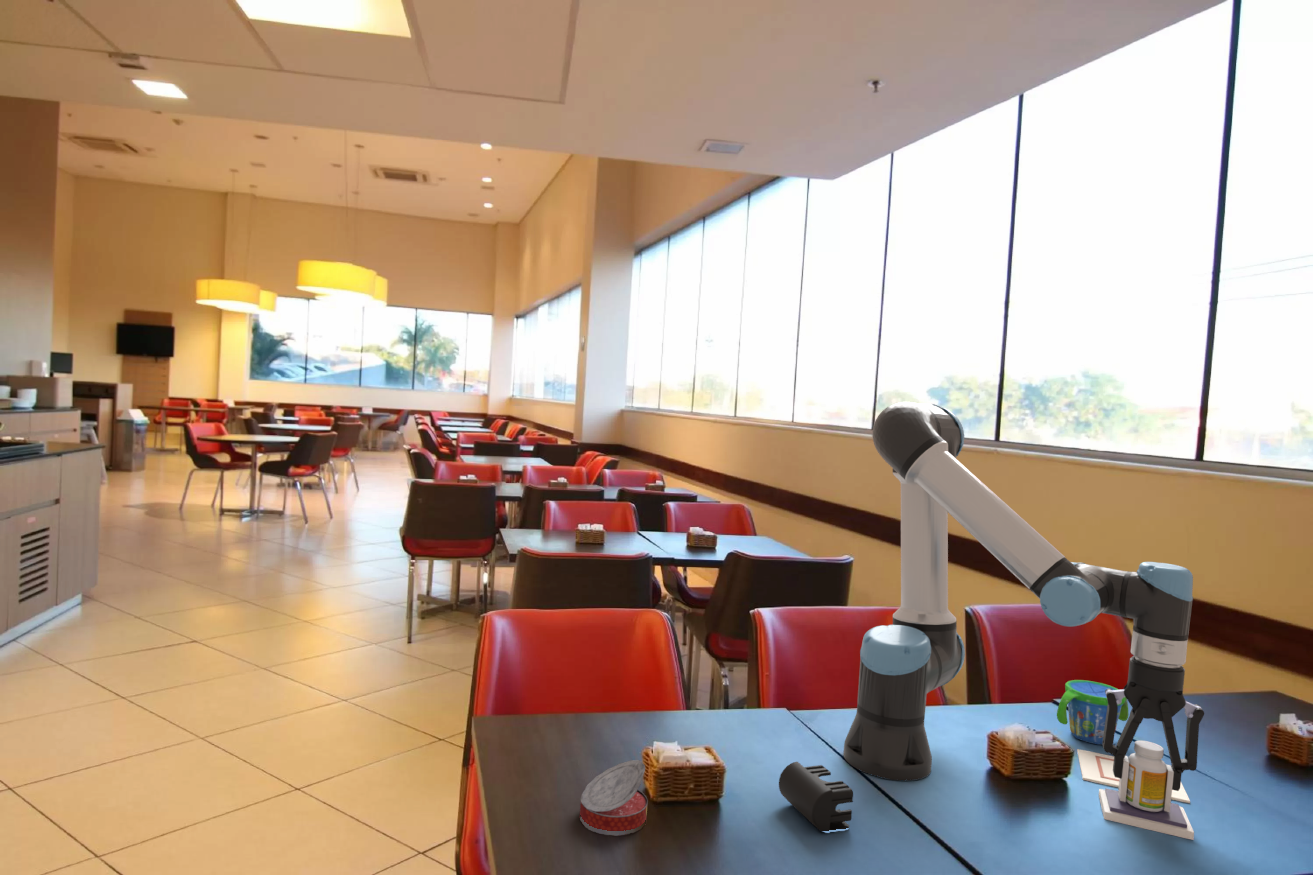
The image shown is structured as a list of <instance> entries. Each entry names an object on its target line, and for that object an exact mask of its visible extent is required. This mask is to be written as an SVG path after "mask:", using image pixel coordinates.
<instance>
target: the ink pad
mask: <svg viewBox="0 0 1313 875" xmlns="http://www.w3.org/2000/svg"><path fill="white" fill-rule="evenodd" d="M1098 799H1099V802H1100V806H1101V811H1102V816H1103V819H1104V820H1107V821H1110V822H1111V821H1112V822H1115V823H1119V824H1123V825H1127V826H1128V825H1129V826H1132V827H1137V828H1140V829H1145V830H1149V831H1153V832H1158V833H1162V834H1166V835H1170V836H1175V837H1179V838H1183V839H1187V840H1190V841H1191V840H1193V841H1194V840H1195V839H1194V838H1195V831H1194V828H1193V827H1192V825H1191V822H1190V820H1189V817H1188V815H1187V813H1186V811H1185V809H1184V807H1182V806H1180V805H1179V804H1178V803H1173V802H1171V806H1170V812H1167V811H1164V809H1162V810H1161V811H1159V812H1150V811H1145V810H1142V809H1139V808H1136V807H1134V806H1132V805H1130V804H1129V803H1128V802H1127V801H1126V802H1124V801H1120V799H1119V795H1118V790H1114V789H1110V788H1107V787H1105V788H1104V789H1103V788H1099V789H1098Z"/></svg>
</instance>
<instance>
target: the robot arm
mask: <svg viewBox="0 0 1313 875" xmlns="http://www.w3.org/2000/svg"><path fill="white" fill-rule="evenodd" d="M871 436H872V437H871V438H872V441H873V445H874V447H875V450H876V451H877V454H879V456H880V457H881V458H882V459H883V460H884V461H885V463H887V464H888V466H890V467H891V468H892V475H893V476H894V477H895V478H896V479H897V480H898V481H899V483H900V606H899V608H898V609H896V611H895V612H893V614H892V624H888V625H882V624H881V625H877V626H874V627H872V628H870V629H869V630H867V631H866V632H865V633H864V635H863V639H862V643H861V647H860V650H859V654H860V655H859V656H860V660H859V675H858V687H857V688H858V690H857V706H856V714H855V716H854V718H853V721H852V724H851V726H850V728H849V730H848V733H847V735H846V736H845V737H846V738H845V740H844V742H843V743H844V744H843V745H844V746H843V758H844V759H845V761H846V762H847V763H848V764H849V765H850V766H852V767H853V768H855V769H857V770H858V771H860V770H861V772H863V773H865V774H867V773H868V775H870V774H872V775H871V776H873V775H875V776H874V777H877V776H878V777H877V778H880V777H882V778H881V779H885V778H886V780H892V781H901V780H903V781H905V780H906V782H907V781H917V780H922V779H924V778H926V777H928V776H929V775H930V773H931V772H932V765H933V756H932V752H931V748H930V744H929V739H928V736H927V731H926V728H925V716H926V706H927V694H929V693H930V692H931V691H934V690H936V689H937V688H939V687H942V686H945V685H946V684H948V683H950V682H951V681H952V680H953V679H954V678H955V677H956V676H957V675H958V674H959V672H960V671H961V669H962V668H963V666H964V662H965V658H966V657H965V656H966V650H965V645H964V644H965V643H964V641H963V638H962V637H961V635H960V634H959V633H958V632H957V629H958V628H957V627H958V626H957V622H958V621H957V617H956V616H955V615H954V614H953V613H952V612H951V611H950V609H949V574H948V573H949V564H948V563H949V561H948V560H949V558H948V557H949V554H948V553H949V550H948V549H949V544H948V543H949V542H948V540H949V539H948V537H949V534H948V533H949V532H948V530H949V528H948V527H949V525H948V524H949V522H948V520H949V515H950V516H951V517H953V519H954V520H955V521H957V522H958V524H959V525H961V527H963V528H964V529H965V530H966V531H967V532H968V533H969V534H971V536H973V538H975V540H976V541H978V542H979V543H980V544H981V545H982V546H983V547H984V548H985V549H986V550H987V551H988V552H989V553H990V554H991V555H993V556H994V558H996V560H998V561H999V562H1000V563H1001V564H1002V565H1003V566H1004V567H1005V568H1006V569H1007V570H1008V571H1009V572H1010V573H1011V574H1013V575H1014V576H1015V578H1016V579H1018V580H1019V581H1020V582H1021V583H1022V584H1023V585H1024V586H1025V587H1026V588H1028V589H1029V591H1030V592H1032V593H1033V595H1035V597H1037V598H1038V599H1039V602H1040V603H1039V604H1040V606H1041V610H1042V611H1043V612H1044V615H1045V616H1046V617H1047V619H1049V620H1050V621H1052V622H1053V623H1055V624H1057V625H1060V626H1063V627H1069V628H1071V627H1077V626H1081V625H1085V624H1087V623H1089V622H1090V623H1091V622H1092V621H1093V620H1095V619H1096V618H1097V616H1098V615H1100V614H1107V615H1112V616H1118V617H1122V618H1129V619H1132V620H1133V625H1132V626H1133V627H1132V634H1131V643H1130V644H1131V646H1130V653H1131V655H1133V656H1131V657H1130V658H1129V663H1128V664H1129V665H1128V675H1127V682H1126V684H1125V685H1124V687H1123V689H1119V690H1112V689H1109V688H1108V689H1106V690H1105V693H1106V697H1107V701H1108V706H1107V713H1106V720H1105V728H1104V735H1103V742H1102V744H1101V745H1102V747H1103V750H1104V752H1105V753H1107V754H1110V755H1111V756H1114V763H1113V773H1114V776H1115V777H1116V778H1120V780H1119V788H1118V790H1117V791H1118V795H1119V799H1120V801H1124V802H1126V791H1127V781H1128V771H1129V760H1128V758H1129V756H1128V755H1127V753H1128V750H1129V748H1130V746H1131V744H1132V742H1133V739H1134V737H1136V736H1135V735H1136V733H1137V731H1138V728H1139V727H1140V725H1141V724H1142V722H1143V720H1144V719H1146V720H1148V719H1151V720H1152V719H1154V720H1156V721H1157V722H1161V723H1162V727H1163V728H1162V729H1163V731H1164V732H1163V733H1164V737H1165V740H1166V746H1167V750H1168V754H1169V759H1170V763H1171V764H1167V763H1165V764H1166V766H1167V775H1166V785H1165V795H1164V806H1163V809H1164V811H1167V812H1170V806H1171V803H1172V799H1171V796H1172V790H1175V791H1179V789H1180V784H1181V783H1182V775H1183V773H1184V771H1192V772H1193V771H1196V770H1197V766H1198V753H1199V752H1198V748H1199V736H1200V735H1199V731H1200V724H1201V721H1202V720H1203V718H1204V717H1205V711H1204V710H1203V708H1202V707H1201V705H1200V704H1194V703H1191V702H1188V701H1187V700H1186V699H1185V696H1184V694H1183V692H1184V682H1185V674H1186V673H1185V672H1186V669H1185V667H1184V666H1183V665H1185V664H1186V663H1187V652H1188V649H1187V648H1188V641H1189V633H1190V632H1189V631H1190V622H1191V615H1192V606H1193V601H1194V596H1193V586H1194V576H1193V573H1192V572H1191V571H1190V570H1189V569H1188V568H1186V567H1184V566H1182V565H1181V566H1180V565H1178V564H1171V563H1166V562H1156V561H1143V562H1141V563H1140V564H1139V565H1138V569H1137V570H1136V571H1129V570H1128V571H1127V570H1121V569H1116V568H1109V567H1104V566H1099V565H1093V564H1088V563H1086V562H1073V561H1070V560H1069V559H1067V557H1066V556H1065V555H1064V554H1062V552H1061V551H1059V550H1058V549H1057V548H1056V547H1055V546H1054V545H1053V544H1051V543H1050V542H1049V541H1048V540H1047V539H1046V538H1045V537H1044V536H1043V535H1042V534H1041V533H1039V531H1037V530H1036V529H1035V528H1034V527H1032V525H1031V524H1029V523H1028V522H1027V521H1026V520H1025V519H1024V518H1022V517H1021V515H1019V514H1018V513H1017V512H1016V511H1015V510H1014V509H1012V507H1010V506H1009V505H1008V504H1007V503H1006V502H1005V501H1004V500H1003V499H1002V498H1000V497H999V496H998V495H997V494H996V493H995V492H994V491H993V490H992V489H991V488H989V487H988V486H987V485H986V484H985V483H984V482H983V481H982V480H980V479H979V478H978V477H977V476H976V475H975V474H974V473H973V472H971V471H970V470H969V469H968V468H967V467H966V466H965V465H964V464H963V463H961V461H959V460H958V459H957V457H958V456H959V455H960V453H961V451H962V449H963V447H964V443H965V430H964V427H963V425H962V422H961V421H960V419H959V418H958V417H957V415H956V414H954V413H953V412H952V411H951V410H949V409H948V408H945V407H942V406H941V405H938V404H935V403H918V402H914V401H913V402H912V401H899V402H896V403H892V404H890V405H889V406H887V407H885V408H884V409H882V411H881V412H880V413H879V414H878V415H877V417H876V419H875V421H874V424H873V427H872V435H871ZM948 514H949V515H948ZM1124 697H1126V698H1127V702H1128V703H1129V705H1130V707H1131V710H1130V712H1129V715H1128V719H1127V720H1126V723H1125V724H1124V727H1123V729H1122V732H1121V734H1120V736H1119V738H1118V741H1117V742H1116V745H1115V744H1114V742H1115V740H1114V739H1115V733H1116V730H1115V727H1116V728H1117V726H1116V719H1117V712H1118V706H1117V705H1118V704H1121V702H1122V698H1124ZM1183 709H1184V714H1185V716H1186V717H1187V718H1186V726H1185V727H1186V728H1185V743H1184V744H1185V745H1184V746H1185V747H1184V758H1181V755H1180V750H1179V746H1178V740H1177V737H1176V732H1175V726H1174V722H1173V717H1174V716H1175V715H1176V714H1178V713H1179V712H1180V711H1181V710H1183ZM903 781H902V782H903Z"/></svg>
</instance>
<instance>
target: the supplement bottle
mask: <svg viewBox="0 0 1313 875" xmlns="http://www.w3.org/2000/svg"><path fill="white" fill-rule="evenodd" d="M1164 750H1165V749H1164V747H1163V746H1161V745H1159V744H1157V743H1155V742H1153V741H1152V742H1151V741H1147V740H1136V741H1134V747H1133V751H1134V752H1133V753H1130V755H1128V760H1129V771H1128V781H1127V791H1126V801H1127V802H1128V803H1129V804H1130V805H1132V806H1134V807H1136V808H1139V809H1142V810H1145V811H1150V812H1159V811H1161V810H1162V809H1163V806H1164V795H1165V785H1166V775H1167V766H1166V764H1167V763H1166V762H1165V761H1164V760H1163V758H1164Z"/></svg>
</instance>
